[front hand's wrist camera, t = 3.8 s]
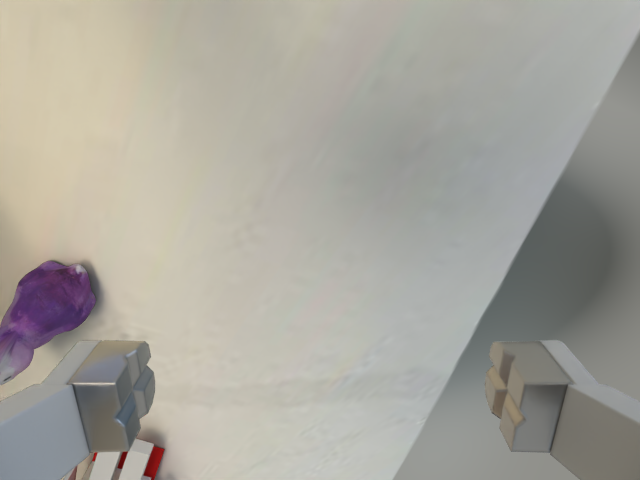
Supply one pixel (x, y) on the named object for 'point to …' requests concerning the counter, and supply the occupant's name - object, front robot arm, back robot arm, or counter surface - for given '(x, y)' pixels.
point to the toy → (123, 464)
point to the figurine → (42, 313)
